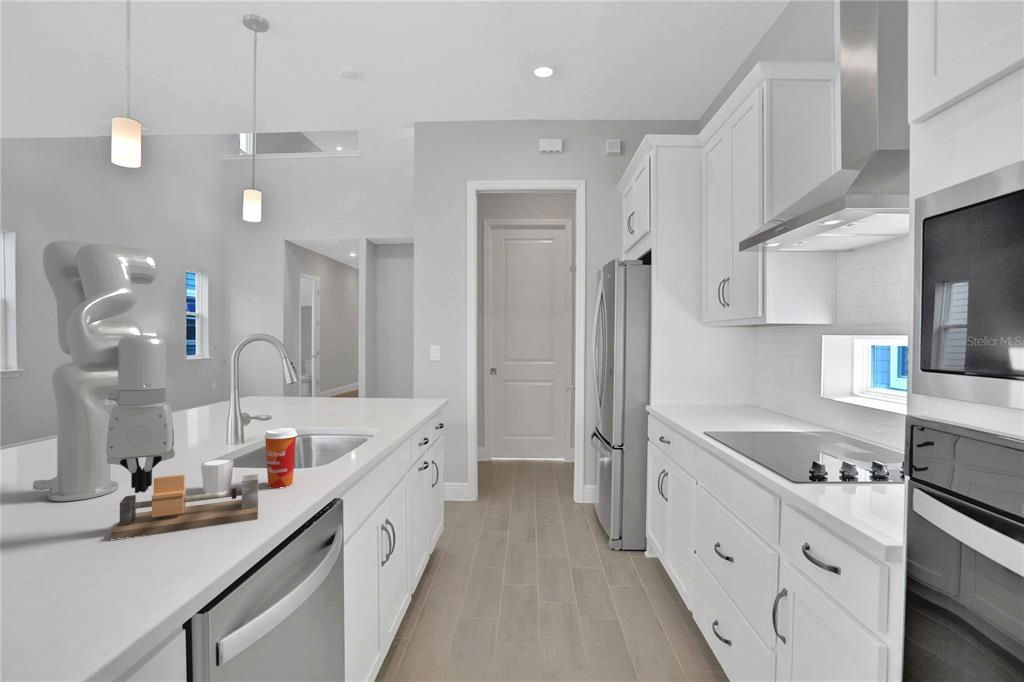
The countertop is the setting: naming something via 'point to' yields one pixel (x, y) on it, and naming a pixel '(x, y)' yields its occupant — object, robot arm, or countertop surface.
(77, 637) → the countertop surface
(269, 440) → the paper cup
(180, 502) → the orange sliding block
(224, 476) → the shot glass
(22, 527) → the countertop surface
